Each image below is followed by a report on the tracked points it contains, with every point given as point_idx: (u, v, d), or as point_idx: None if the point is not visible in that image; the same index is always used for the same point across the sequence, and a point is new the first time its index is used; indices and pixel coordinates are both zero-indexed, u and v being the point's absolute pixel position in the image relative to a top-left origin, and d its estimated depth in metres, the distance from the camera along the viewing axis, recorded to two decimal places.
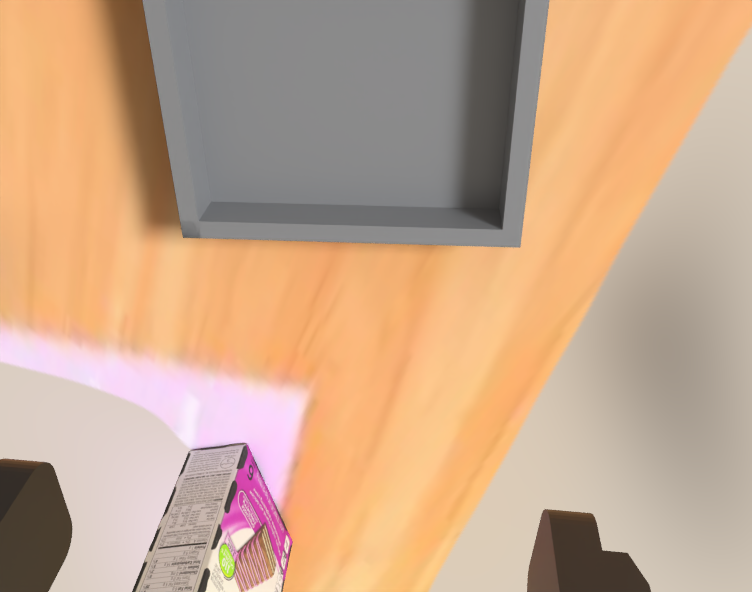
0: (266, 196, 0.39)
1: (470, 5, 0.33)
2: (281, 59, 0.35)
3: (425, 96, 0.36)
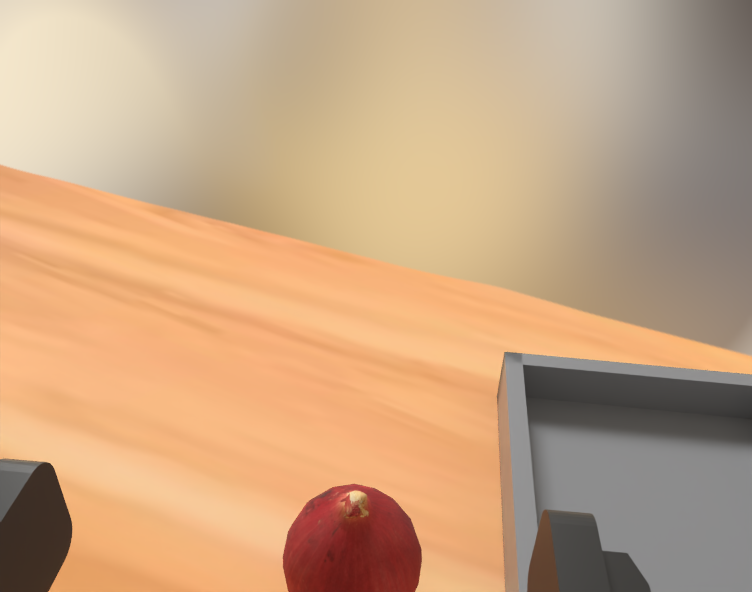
0: None
1: (582, 429, 0.40)
2: (664, 579, 0.32)
3: (667, 463, 0.38)
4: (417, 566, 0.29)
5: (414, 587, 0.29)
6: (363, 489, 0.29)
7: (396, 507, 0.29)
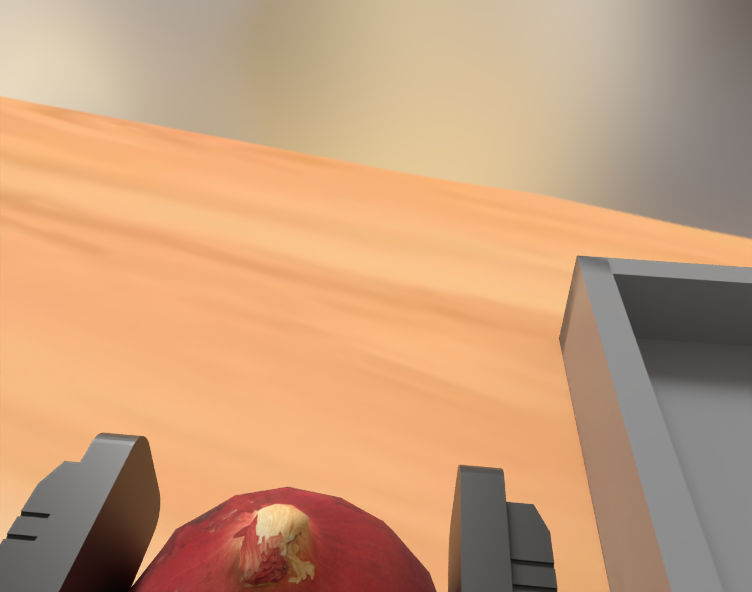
0: None
1: (724, 385, 0.22)
2: None
3: None
4: None
5: None
6: (305, 500, 0.11)
7: (393, 546, 0.11)
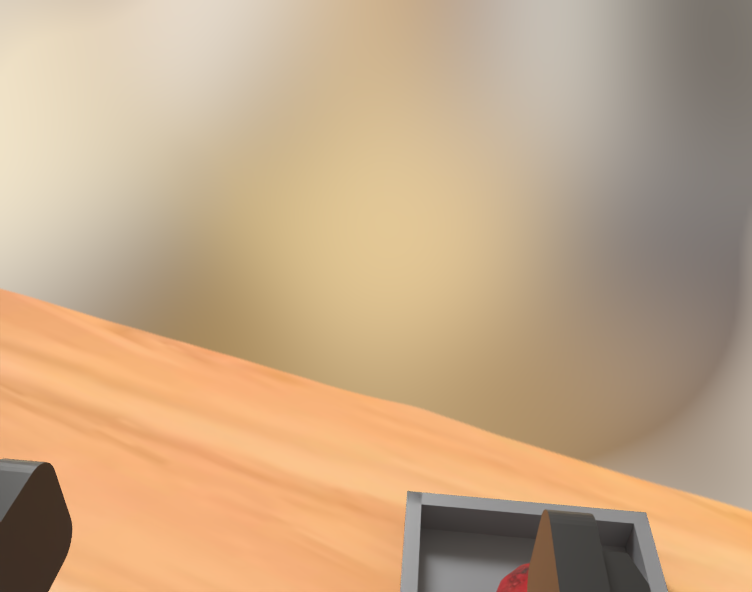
0: None
1: (471, 561, 0.47)
2: None
3: None
4: None
5: None
6: None
7: None
